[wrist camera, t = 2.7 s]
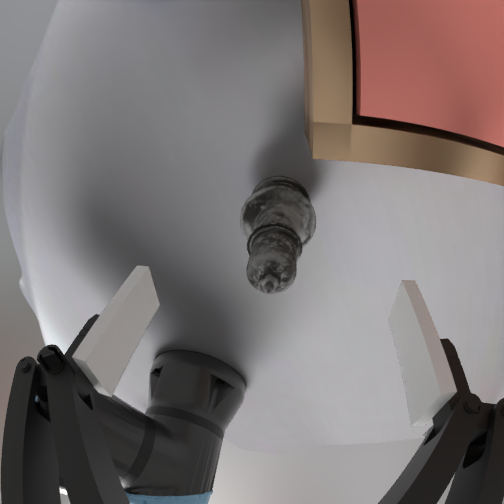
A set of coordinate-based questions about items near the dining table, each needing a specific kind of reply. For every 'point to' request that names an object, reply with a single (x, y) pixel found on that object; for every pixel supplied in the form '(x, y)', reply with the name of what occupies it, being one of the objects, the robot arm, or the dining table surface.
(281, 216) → the salt shaker
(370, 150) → the wooden box
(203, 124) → the dining table surface
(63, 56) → the dining table surface
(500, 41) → the trapdoor
